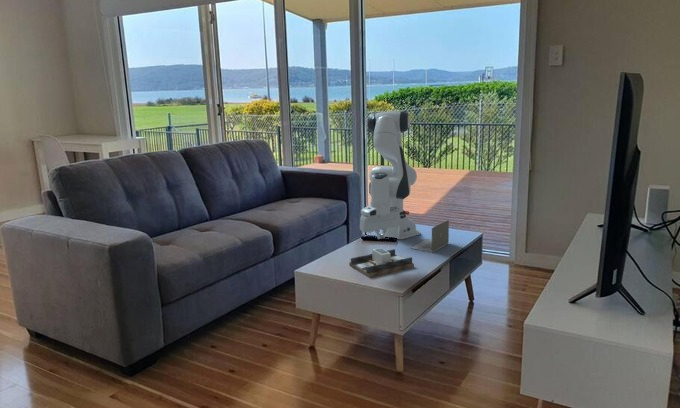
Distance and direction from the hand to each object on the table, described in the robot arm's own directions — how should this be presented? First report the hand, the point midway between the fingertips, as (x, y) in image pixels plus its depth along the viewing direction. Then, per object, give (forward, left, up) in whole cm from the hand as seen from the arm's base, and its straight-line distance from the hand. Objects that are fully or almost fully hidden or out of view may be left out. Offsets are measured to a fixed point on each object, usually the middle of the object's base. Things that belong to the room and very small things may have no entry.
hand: (380, 238), depth 228 cm
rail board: (0, 0, -14) cm, 14 cm away
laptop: (-37, -12, -14) cm, 41 cm away
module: (0, 0, -11) cm, 11 cm away
